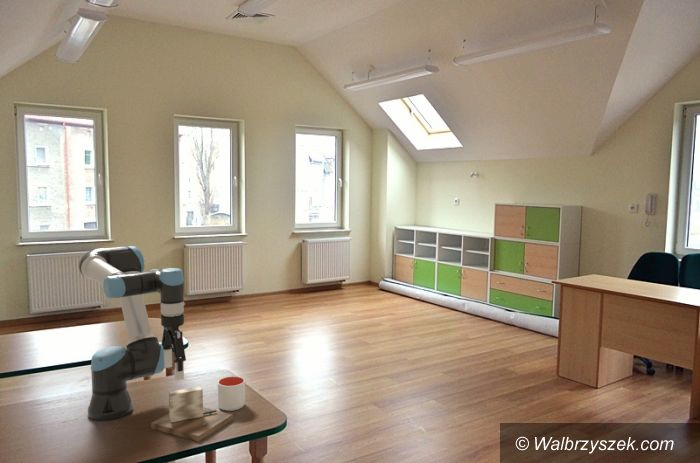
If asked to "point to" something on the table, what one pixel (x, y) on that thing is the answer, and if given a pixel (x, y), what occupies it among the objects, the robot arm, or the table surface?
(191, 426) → the board
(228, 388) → the cup
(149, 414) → the table surface
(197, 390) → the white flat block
